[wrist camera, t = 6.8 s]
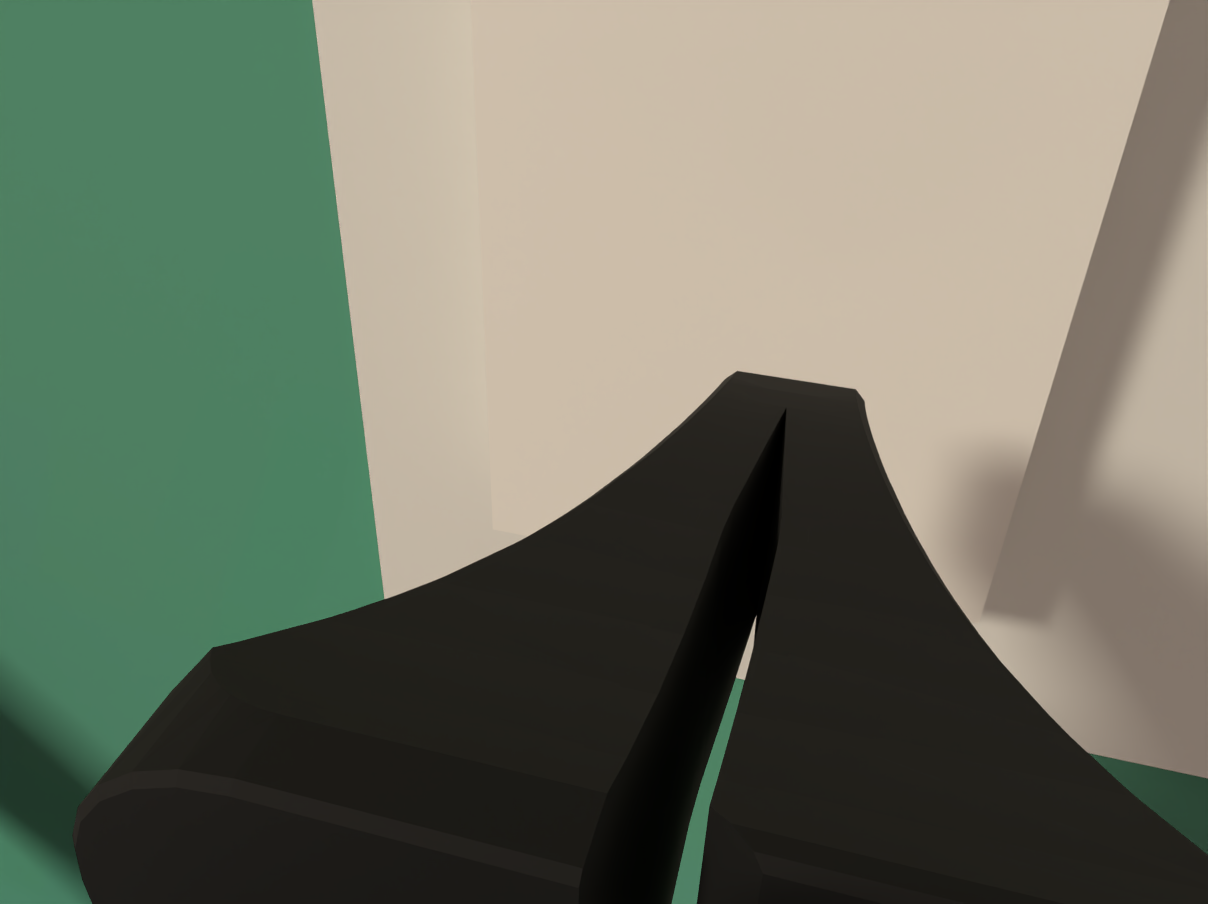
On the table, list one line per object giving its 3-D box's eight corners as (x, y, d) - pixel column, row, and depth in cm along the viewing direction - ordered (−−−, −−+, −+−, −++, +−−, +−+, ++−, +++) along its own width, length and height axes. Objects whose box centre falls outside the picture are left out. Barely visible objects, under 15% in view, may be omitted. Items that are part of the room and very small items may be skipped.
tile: (1199, -97, 11) (465, -140, 12) (978, 623, 16) (492, 529, 18) (1170, -115, 12) (512, -152, 14) (976, 556, 18) (524, 473, 19)
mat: (2880, -630, 8) (2943, -644, 8) (1579, 844, 18) (1588, 859, 18) (258, -559, 12) (244, -565, 12) (390, 593, 23) (385, 602, 22)
